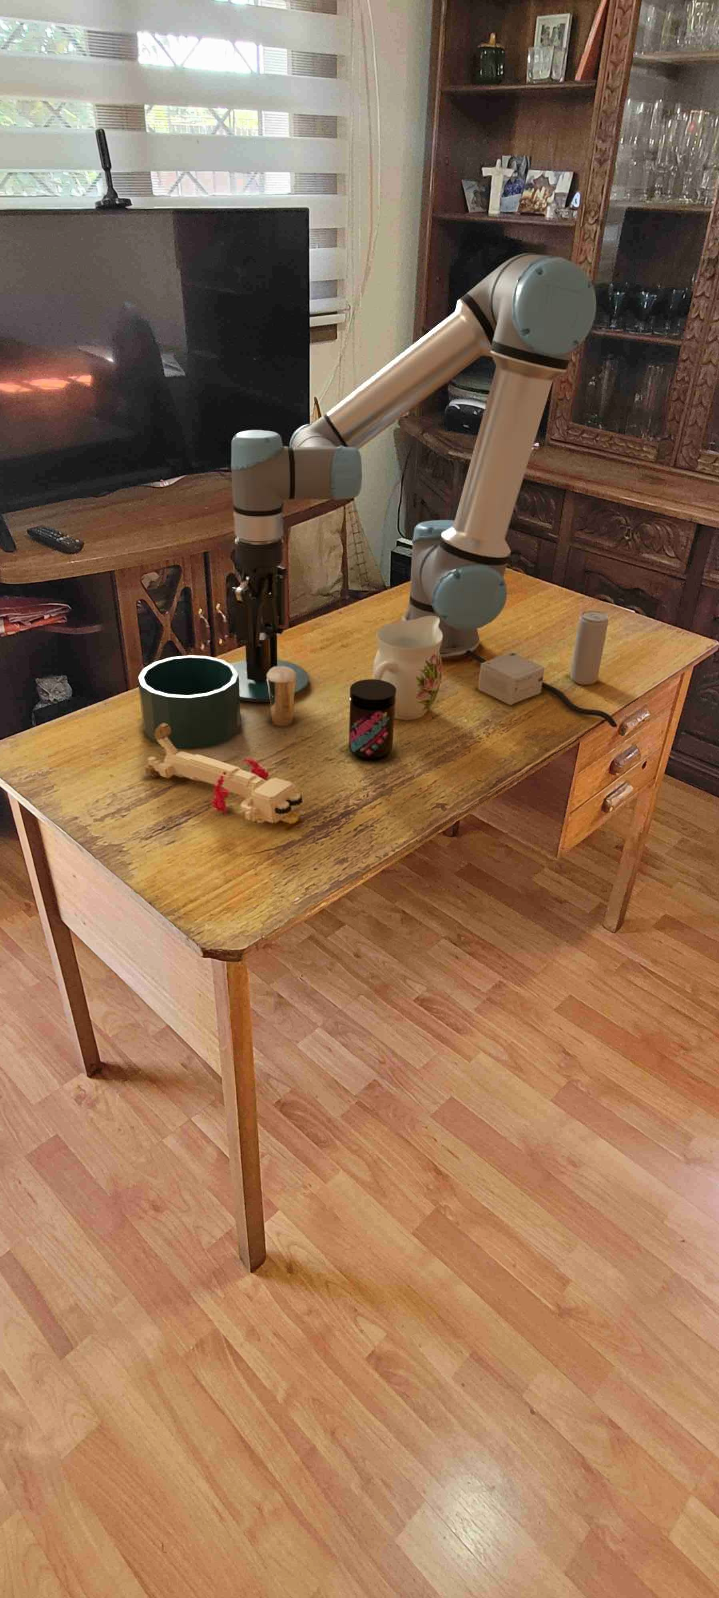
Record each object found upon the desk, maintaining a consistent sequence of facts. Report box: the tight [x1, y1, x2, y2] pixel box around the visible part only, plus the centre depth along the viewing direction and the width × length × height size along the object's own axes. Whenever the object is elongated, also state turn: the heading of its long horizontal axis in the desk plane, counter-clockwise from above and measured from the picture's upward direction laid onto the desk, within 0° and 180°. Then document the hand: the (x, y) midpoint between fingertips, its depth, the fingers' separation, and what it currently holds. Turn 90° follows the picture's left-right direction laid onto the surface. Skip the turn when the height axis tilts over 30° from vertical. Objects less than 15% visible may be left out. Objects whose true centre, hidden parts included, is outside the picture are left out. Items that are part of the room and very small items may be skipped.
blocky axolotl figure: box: [145, 723, 305, 825], centre depth 126 cm, size 10×9×25 cm
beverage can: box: [569, 610, 609, 686], centre depth 160 cm, size 5×5×12 cm
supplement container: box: [348, 678, 396, 762], centre depth 137 cm, size 7×7×10 cm
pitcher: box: [371, 616, 443, 721], centre depth 147 cm, size 11×18×14 cm, turn 146°
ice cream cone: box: [267, 665, 302, 727], centre depth 144 cm, size 4×5×10 cm
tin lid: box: [230, 632, 310, 703], centre depth 156 cm, size 16×16×9 cm
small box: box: [477, 652, 545, 706], centre depth 157 cm, size 8×8×5 cm
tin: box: [137, 654, 242, 749], centre depth 143 cm, size 15×15×8 cm
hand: (262, 674), depth 157 cm, fingers open, 4 cm apart
